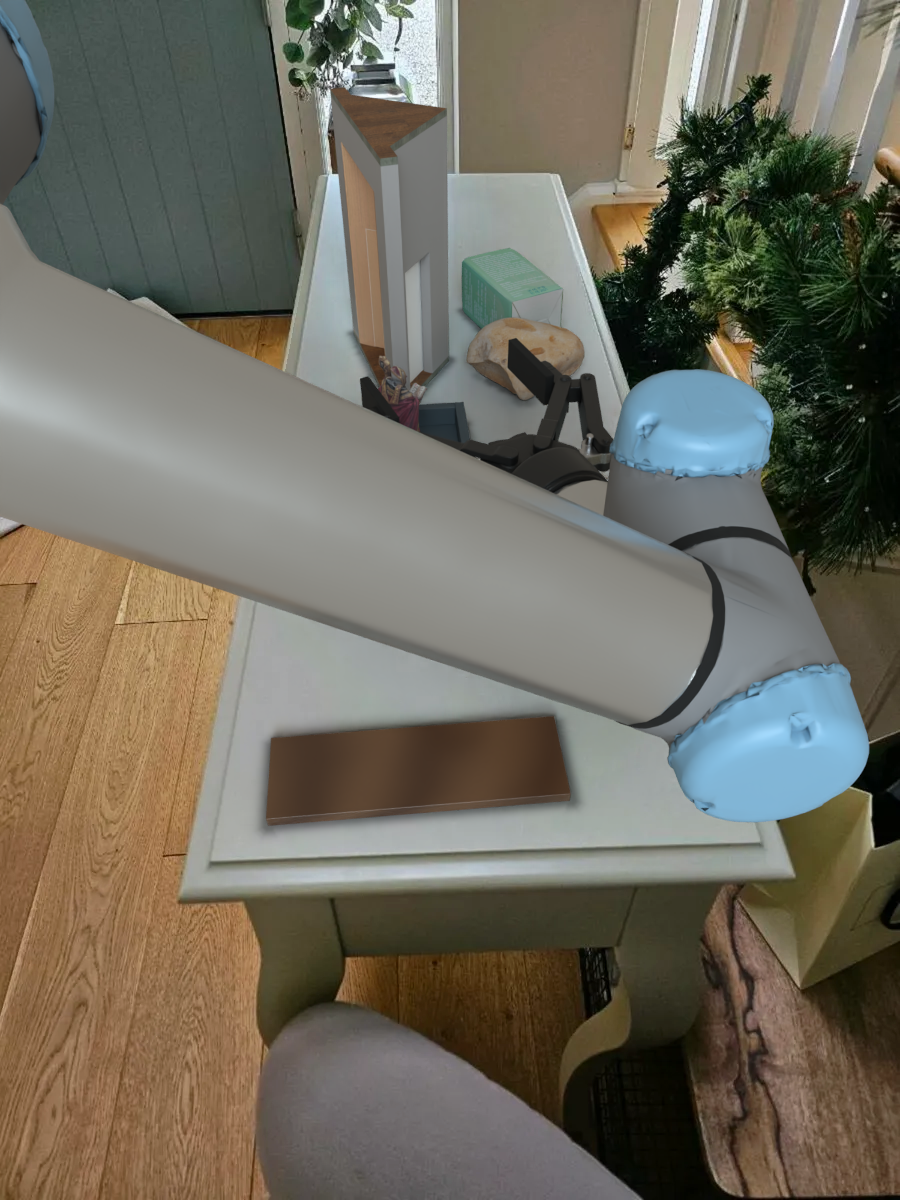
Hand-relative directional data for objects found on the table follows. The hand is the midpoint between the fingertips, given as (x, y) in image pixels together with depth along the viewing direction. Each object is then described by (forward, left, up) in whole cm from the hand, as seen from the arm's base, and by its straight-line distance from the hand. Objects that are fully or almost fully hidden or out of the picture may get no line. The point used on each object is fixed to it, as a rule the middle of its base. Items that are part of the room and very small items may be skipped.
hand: (440, 371), depth 72 cm
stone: (+12, +24, -17) cm, 32 cm away
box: (+12, +37, -17) cm, 42 cm away
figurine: (-3, +9, -16) cm, 19 cm away
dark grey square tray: (-3, +9, -17) cm, 19 cm away
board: (-4, -28, -17) cm, 33 cm away
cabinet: (-1, +28, -17) cm, 33 cm away
